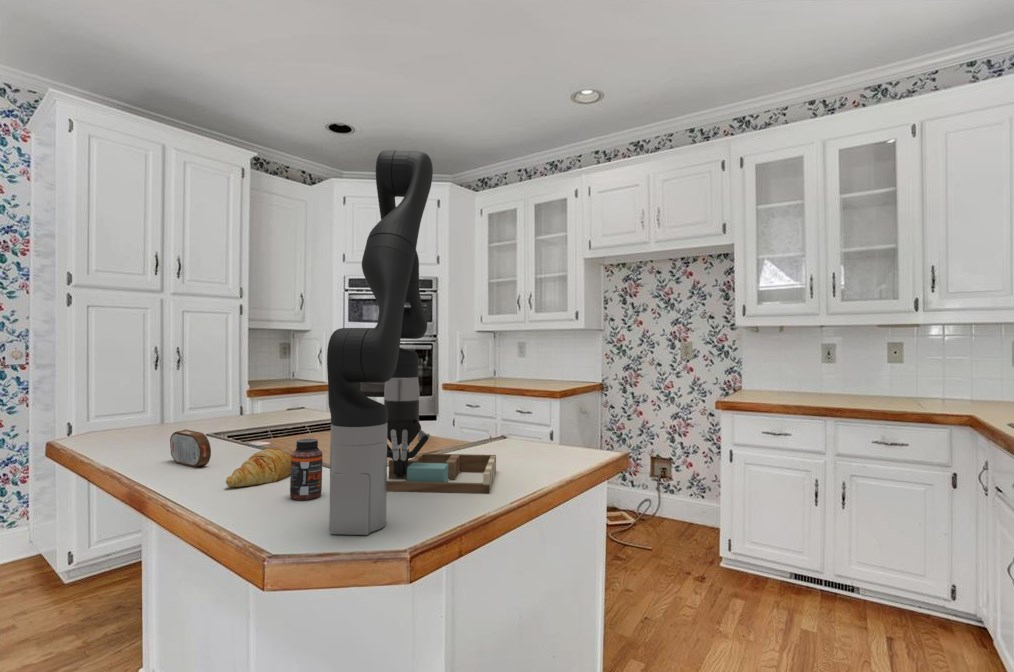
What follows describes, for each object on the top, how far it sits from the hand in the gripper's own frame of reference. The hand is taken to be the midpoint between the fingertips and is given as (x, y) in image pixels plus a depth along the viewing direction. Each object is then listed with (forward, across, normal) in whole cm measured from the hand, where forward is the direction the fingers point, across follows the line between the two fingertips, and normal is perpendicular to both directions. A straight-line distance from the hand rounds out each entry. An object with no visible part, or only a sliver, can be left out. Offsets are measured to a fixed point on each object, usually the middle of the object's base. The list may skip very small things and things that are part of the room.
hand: (400, 476), depth 116 cm
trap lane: (+2, +8, +4) cm, 9 cm away
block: (+2, +6, -1) cm, 7 cm away
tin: (+2, -57, +15) cm, 59 cm away
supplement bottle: (+2, -16, -11) cm, 20 cm away
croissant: (+2, -32, +3) cm, 32 cm away
